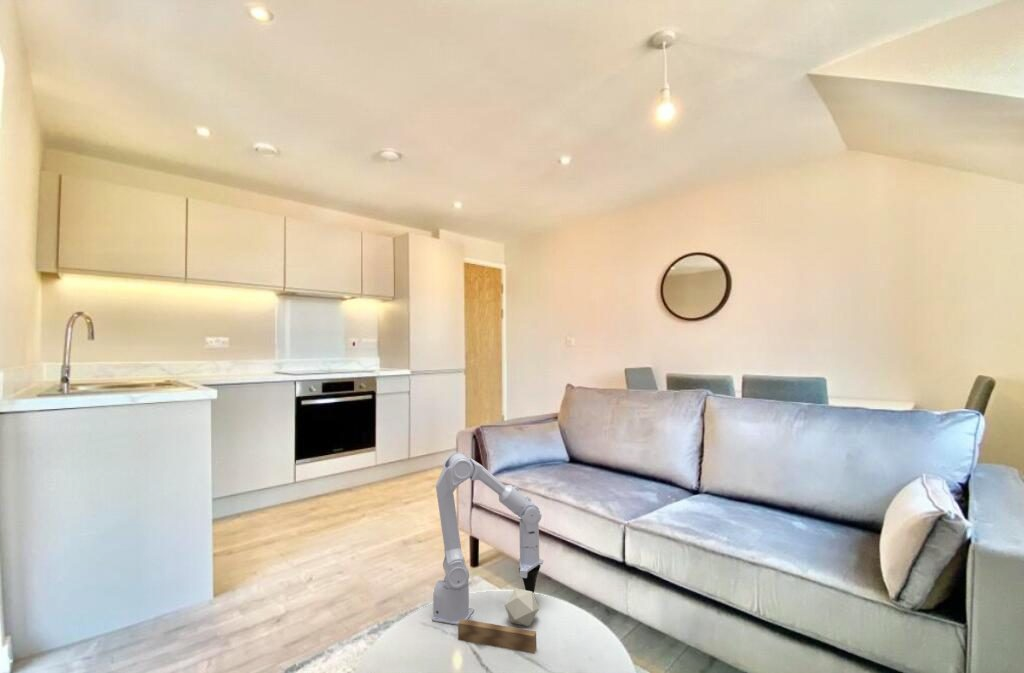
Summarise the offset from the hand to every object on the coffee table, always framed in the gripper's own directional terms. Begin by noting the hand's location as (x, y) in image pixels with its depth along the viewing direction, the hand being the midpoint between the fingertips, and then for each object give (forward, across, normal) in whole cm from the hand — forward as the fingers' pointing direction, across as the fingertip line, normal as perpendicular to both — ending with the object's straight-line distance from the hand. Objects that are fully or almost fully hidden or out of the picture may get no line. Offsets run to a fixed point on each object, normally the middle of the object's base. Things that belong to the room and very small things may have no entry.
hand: (530, 592), depth 126 cm
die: (+4, -9, 0) cm, 10 cm away
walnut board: (+3, -20, +4) cm, 20 cm away
